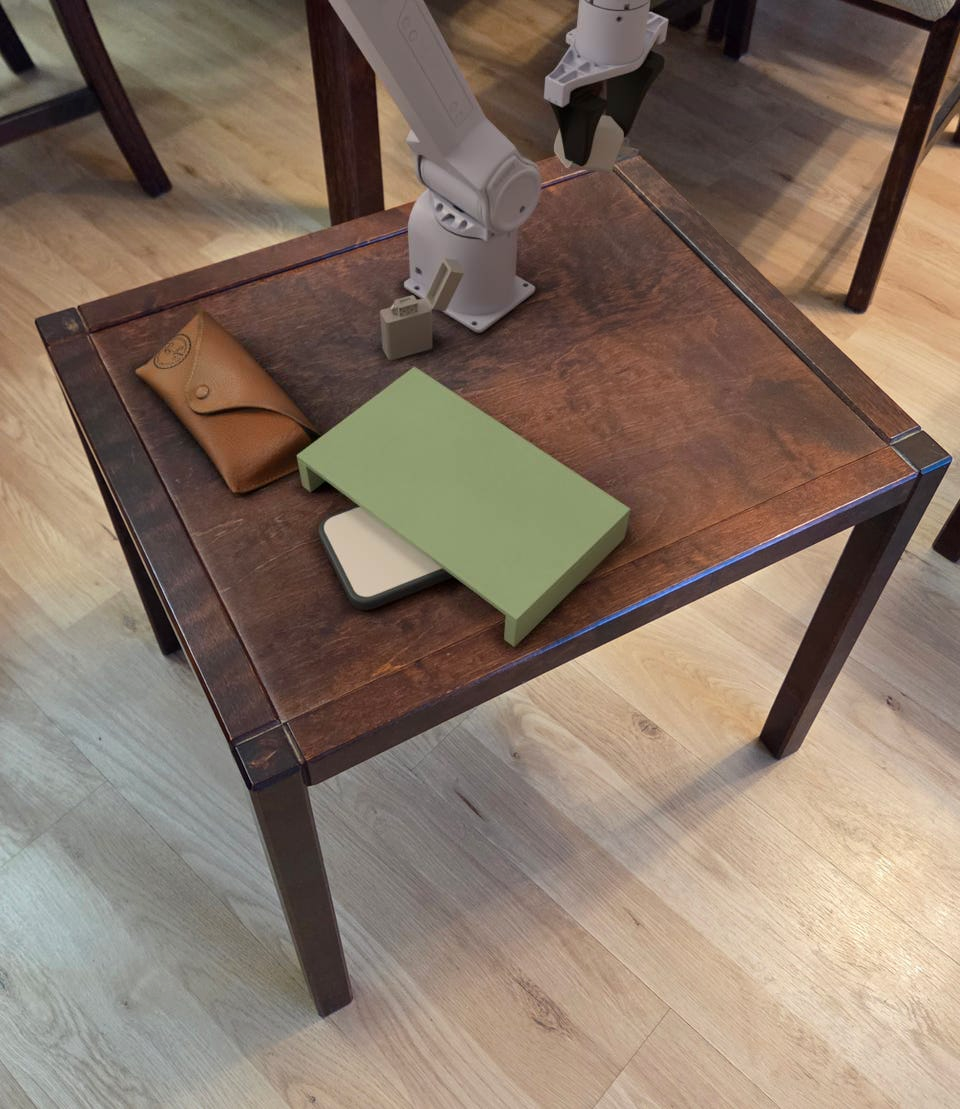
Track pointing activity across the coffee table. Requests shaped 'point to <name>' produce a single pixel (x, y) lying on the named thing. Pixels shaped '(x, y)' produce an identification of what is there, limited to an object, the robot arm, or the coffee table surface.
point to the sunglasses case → (229, 405)
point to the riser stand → (470, 496)
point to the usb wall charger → (600, 147)
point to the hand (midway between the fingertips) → (596, 146)
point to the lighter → (418, 314)
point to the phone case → (374, 559)
